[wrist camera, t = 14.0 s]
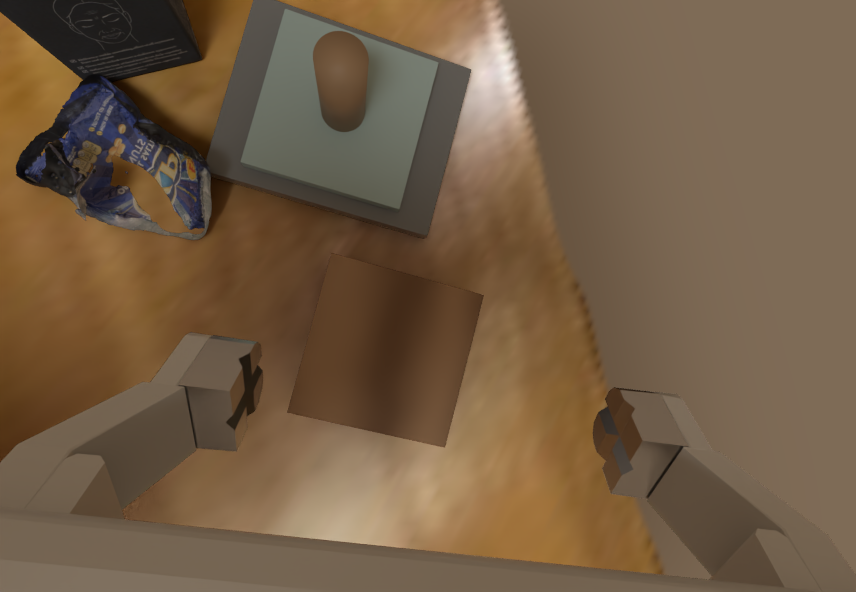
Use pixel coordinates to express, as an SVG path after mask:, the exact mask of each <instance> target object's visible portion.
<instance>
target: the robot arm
mask: <svg viewBox="0 0 856 592" xmlns="http://www.w3.org/2000/svg"><path fill="white" fill-rule="evenodd" d="M261 356H262V354H261V345H260V344H259V343H258V342H255V341H248V340H242V339H235V338H229V337H222V336H215V335H213V336H212V335H206V334H199V333H192V332H190V333H188V334H187V335H185V336H184V337H183V339H182V340H181V341H180V343H179V344H178V345H177V347H176V348H175V349H174V351H173V352H172V353H171V355H170V356H169V357H168V359H167V360H166V362H165V363H164V364H163V366H162V367H161V368H160V370H159V371H158V372H157V374H156V375H155V376H154V378H153V379H152V380H151V382H150V383H149V382H141V383H139V384H137V385H135V386H133V387H131V388H129V389H127V390H125V391H123V392H121V393H119V394H117V395H115V396H113V397H111V398H109V399H107V400H105V401H103V402H101V403H99V404H97V405H95V406H93V407H91V408H89V409H87V410H85V411H83V412H81V413H79V414H77V415H75V416H73V417H71V418H69V419H67V420H65V421H63V422H61V423H59V424H57V425H55V426H53V427H51V428H49V429H47V430H45V431H43V432H41V433H39V434H37V435H35V436H33V437H31V438H29V439H27V440H25V441H23V442H21V443H19V444H17V445H16V446H15V447H14V448H13V449H12V450H11V452H10V453H9V454H8V455H7V456H6V457H5V458H4V459H3V460H2V461H1V462H0V592H856V574H855V573H854V571H853V570H852V569H851V567H850V566H849V564H848V563H847V561H846V560H845V559H844V557H843V556H842V554H841V553H840V552H839V550H838V549H837V547H836V546H835V544H834V543H833V541H832V540H831V539H830V537H829V536H828V535H827V534H826V533H825V532H823V531H822V530H820V528H818V527H817V526H815V525H814V524H813V523H812V522H810V521H809V520H808V519H806V518H805V517H804V516H803V515H801V514H800V513H799V512H797V511H796V510H794V509H793V508H792V507H791V506H790V505H788V504H787V503H786V502H785V501H783V500H782V499H781V498H779V497H778V496H777V495H775V494H774V493H773V492H772V491H770V490H769V489H768V488H766V487H765V486H764V485H762V484H761V483H760V482H759V481H757V480H756V479H755V478H753V477H752V476H751V475H749V474H748V473H747V472H746V471H744V470H743V469H742V468H741V467H739V466H738V465H737V464H735V463H734V462H733V461H731V460H730V459H729V458H728V457H726V456H725V455H724V454H722V453H721V452H720V451H713V450H712V448H711V446H710V445H709V443H708V441H707V439H706V438H705V436H704V434H703V433H702V431H701V429H700V428H699V426H698V424H697V422H696V421H695V419H694V418H693V416H692V414H691V412H690V411H689V409H688V407H687V406H686V404H685V402H684V400H683V399H682V398H681V397H680V396H679V395H677V394H670V393H660V392H649V391H640V390H633V389H624V388H616V387H614V388H612V389H611V390H610V391H609V392H608V394H607V396H606V398H605V400H606V403H607V405H608V407H606V408H604V409H603V410H601V411H600V412H598V414H597V417H596V419H595V421H594V426H593V440H594V445H595V448H596V451H597V453H598V454H599V455H600V456H601V457H602V458H604V459H605V460H606V461H605V463H604V465H603V467H602V469H603V472H604V475H605V478H606V481H607V484H608V487H609V490H610V493H611V494H616V495H623V496H630V497H637V498H644V499H648V500H647V502H649V504H650V505H651V506H652V507H653V508H654V510H655V511H656V512H657V513H658V514H659V515H660V517H661V518H662V519H663V520H664V521H665V522H666V524H667V525H668V526H669V527H670V528H671V529H672V530H673V532H674V533H675V534H676V535H677V536H678V537H679V538H680V540H681V541H682V542H683V543H684V544H685V546H686V547H687V548H688V549H689V550H690V551H691V552H692V553H693V555H694V556H695V557H696V558H697V559H698V561H699V562H700V563H701V564H702V565H703V566H704V567H705V569H706V570H707V571H708V572H709V573H710V574H711V576H712V577H711V578H710V579H709V580H707V579H698V578H688V577H679V576H669V575H659V574H650V573H640V572H630V571H621V570H611V569H601V568H591V567H582V566H572V565H562V564H553V563H543V562H533V561H523V560H513V559H504V558H494V557H484V556H474V555H464V554H455V553H445V552H435V551H425V550H415V549H406V548H396V547H386V546H377V545H367V544H358V543H348V542H339V541H329V540H319V539H310V538H300V537H291V536H281V535H272V534H262V533H252V532H243V531H233V530H223V529H214V528H204V527H194V526H184V525H175V524H165V523H155V522H145V521H136V520H126V519H125V518H124V515H123V512H122V509H124V508H125V507H126V506H127V505H129V504H130V503H131V502H132V501H134V500H135V499H136V498H137V497H139V496H140V495H141V494H142V493H144V492H145V491H146V490H147V489H149V488H150V487H151V486H152V485H154V484H155V483H156V482H157V481H159V480H160V479H161V478H162V477H164V476H165V475H166V474H167V473H169V472H170V471H171V470H172V469H174V468H175V467H176V466H177V465H179V464H180V463H181V462H182V461H184V460H185V459H186V458H187V457H189V456H190V455H191V454H192V453H194V452H195V451H196V448H202V449H214V450H225V451H237V450H238V448H239V446H240V444H241V441H242V439H243V437H244V435H245V432H246V430H247V428H248V422H247V416H248V415H250V414H251V413H253V412H254V411H255V410H256V407H257V405H258V402H259V399H260V395H261V391H262V384H263V371H262V369H261V368H260V367H259V366H258V365H257V364H258V362H259V360H260V358H261Z"/></svg>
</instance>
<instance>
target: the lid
mask: <svg viewBox="0 0 856 592" xmlns="http://www.w3.org/2000/svg"><path fill="white" fill-rule="evenodd" d="M438 63H439V62H436V61H433V60H430V59H427V58H424V57H421V56H419V55H416V54H413V53H410V52H407V51H404V50H402V49H399V48H396V47H393V46H390V45H387V44H384V43H382V42H379V41H376V40H373V39H370V38H367V37H365V36H362V35H359V34H356V33H353V32H350V31H347V30H345V29H342V28H339V27H336V26H333V25H330V24H328V23H325V22H322V21H319V20H316V19H313V18H310V17H308V16H305V15H302V14H299V13H296V12H293V11H291V10H288V9H285V10H284V14H283V17H282V21H281V24H280V28H279V31H278V35H277V38H276V41H275V45H274V48H273V52H272V55H271V59H270V62H269V65H268V69H267V72H266V76H265V79H264V83H263V86H262V90H261V93H260V96H259V100H258V103H257V107H256V110H255V114H254V117H253V120H252V124H251V127H250V131H249V134H248V138H247V141H246V145H245V148H244V151H243V155H242V158H241V163H242V165H243V166H244V167H248V168H251V169H254V170H258V171H261V172H265V173H268V174H271V175H275V176H278V177H281V178H285V179H288V180H291V181H295V182H298V183H302V184H305V185H308V186H312V187H315V188H318V189H322V190H325V191H329V192H332V193H335V194H339V195H342V196H345V197H349V198H352V199H356V200H359V201H362V202H366V203H369V204H372V205H376V206H379V207H383V208H386V209H389V210H393V211H396V212H398V211H399V209H400V205H401V201H402V198H403V194H404V190H405V186H406V183H407V179H408V175H409V172H410V168H411V164H412V160H413V157H414V153H415V149H416V145H417V142H418V138H419V134H420V131H421V127H422V123H423V119H424V116H425V112H426V108H427V104H428V101H429V97H430V93H431V90H432V86H433V82H434V78H435V75H436V71H437V67H438Z"/></svg>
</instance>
